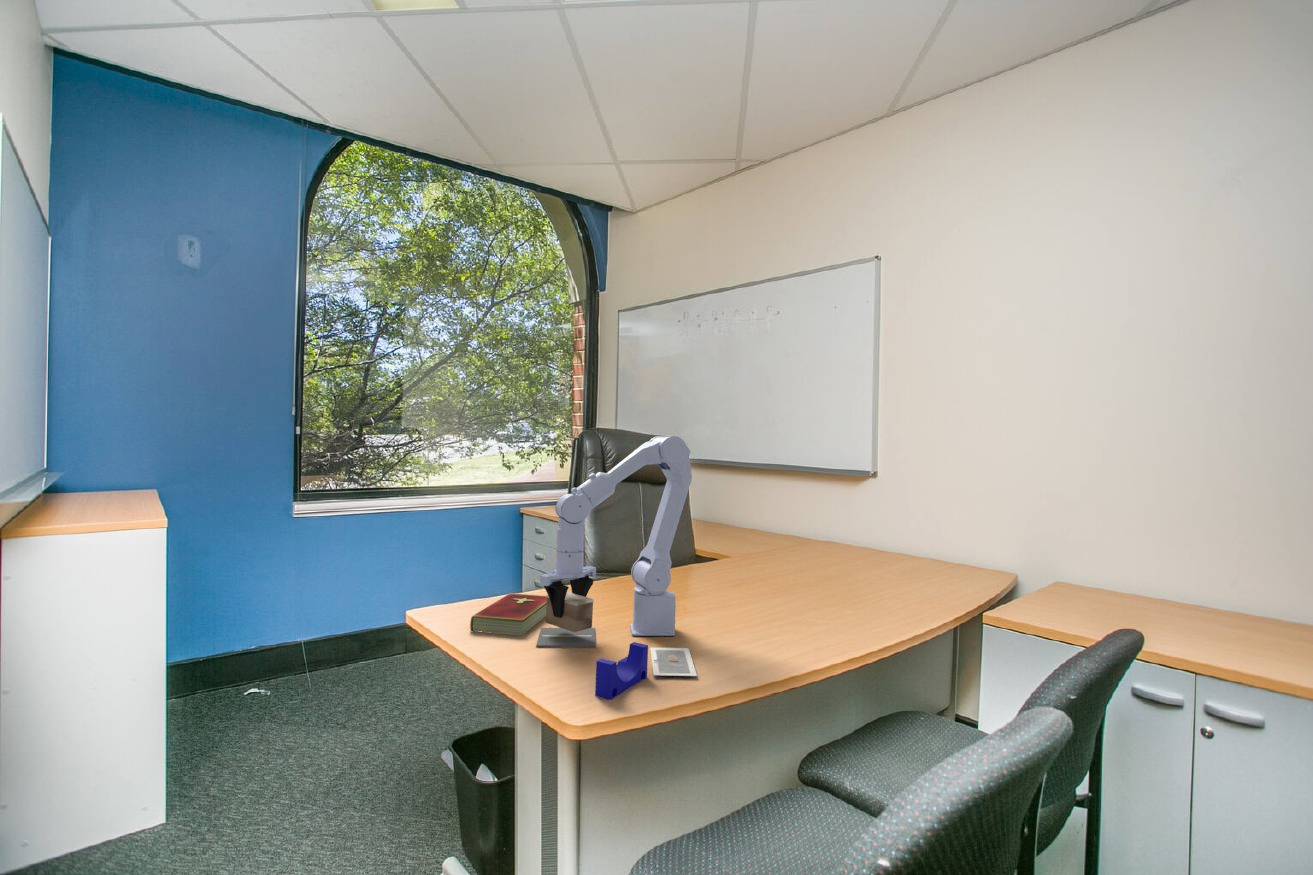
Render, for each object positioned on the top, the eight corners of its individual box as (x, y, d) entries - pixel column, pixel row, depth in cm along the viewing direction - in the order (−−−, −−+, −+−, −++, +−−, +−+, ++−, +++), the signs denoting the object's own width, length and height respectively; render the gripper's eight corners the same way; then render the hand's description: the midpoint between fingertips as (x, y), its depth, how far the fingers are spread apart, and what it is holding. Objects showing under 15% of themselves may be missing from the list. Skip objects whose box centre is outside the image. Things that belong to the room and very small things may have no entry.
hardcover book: (469, 633, 136) (470, 614, 136) (507, 608, 157) (508, 591, 157) (522, 638, 134) (523, 618, 134) (553, 612, 155) (554, 595, 155)
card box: (562, 618, 138) (564, 590, 138) (592, 627, 133) (593, 598, 133) (545, 622, 134) (546, 594, 134) (574, 632, 129) (576, 603, 129)
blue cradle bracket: (625, 672, 115) (627, 640, 115) (646, 678, 113) (648, 645, 113) (587, 694, 105) (589, 658, 105) (610, 701, 103) (611, 664, 103)
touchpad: (688, 653, 128) (688, 642, 128) (696, 681, 113) (697, 669, 113) (650, 652, 128) (650, 642, 128) (653, 681, 113) (653, 669, 113)
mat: (595, 629, 140) (595, 627, 140) (595, 647, 128) (595, 644, 128) (540, 629, 139) (540, 627, 139) (536, 647, 127) (536, 644, 127)
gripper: (557, 557, 126) (555, 624, 126) (607, 549, 137) (604, 611, 137) (534, 552, 130) (532, 617, 130) (584, 545, 141) (581, 605, 141)
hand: (567, 614), depth 134 cm, fingers closed on card box, 5 cm apart
